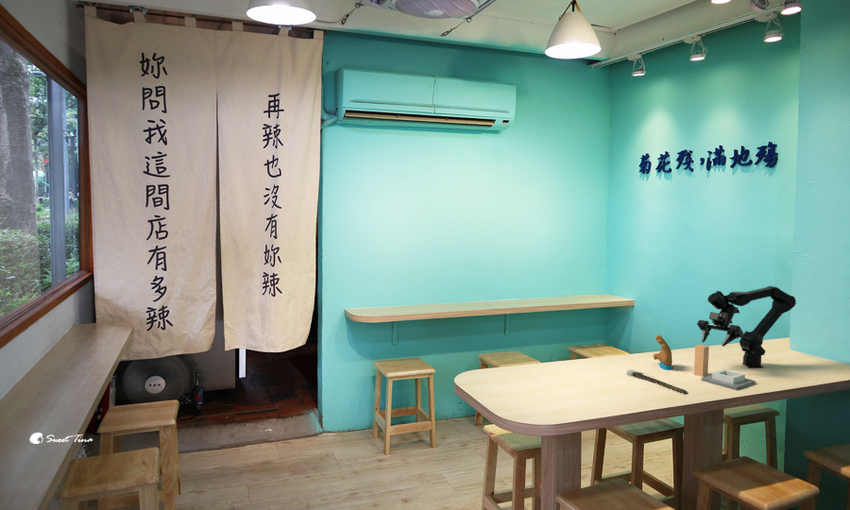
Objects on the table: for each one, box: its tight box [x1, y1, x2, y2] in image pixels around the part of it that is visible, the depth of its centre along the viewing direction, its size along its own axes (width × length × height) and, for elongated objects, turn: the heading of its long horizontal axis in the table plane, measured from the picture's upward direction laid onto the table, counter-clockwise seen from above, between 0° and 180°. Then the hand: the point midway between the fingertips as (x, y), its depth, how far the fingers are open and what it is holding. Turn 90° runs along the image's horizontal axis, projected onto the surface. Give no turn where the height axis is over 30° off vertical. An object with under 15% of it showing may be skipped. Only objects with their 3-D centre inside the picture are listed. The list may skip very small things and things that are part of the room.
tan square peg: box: [693, 344, 710, 378], centre depth 252 cm, size 4×4×13 cm
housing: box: [700, 368, 756, 391], centre depth 243 cm, size 15×15×4 cm
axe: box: [626, 369, 688, 395], centre depth 243 cm, size 11×2×30 cm
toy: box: [653, 334, 673, 371], centre depth 265 cm, size 12×7×15 cm, turn 168°
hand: (712, 343), depth 255 cm, fingers open, 9 cm apart
